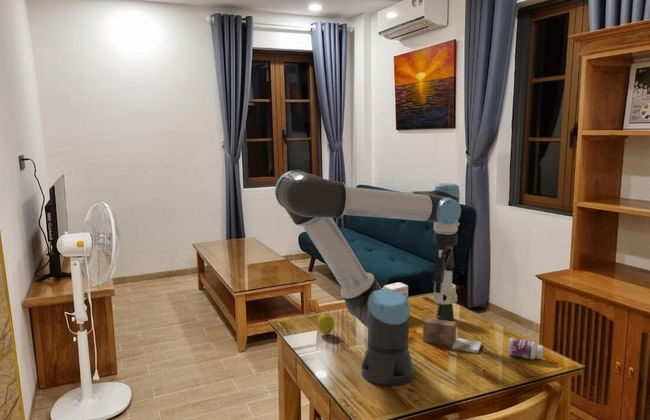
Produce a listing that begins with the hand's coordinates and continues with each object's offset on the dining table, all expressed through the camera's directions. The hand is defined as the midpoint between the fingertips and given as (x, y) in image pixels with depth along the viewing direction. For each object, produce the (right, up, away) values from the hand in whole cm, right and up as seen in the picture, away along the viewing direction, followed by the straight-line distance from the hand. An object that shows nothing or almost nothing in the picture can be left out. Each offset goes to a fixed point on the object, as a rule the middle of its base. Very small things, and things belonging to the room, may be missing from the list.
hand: (442, 295), depth 163 cm
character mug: (+6, -13, +23) cm, 27 cm away
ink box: (-12, -12, +27) cm, 32 cm away
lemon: (-38, -15, +9) cm, 42 cm away
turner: (+4, -16, +1) cm, 17 cm away
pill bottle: (+19, -15, -7) cm, 25 cm away
